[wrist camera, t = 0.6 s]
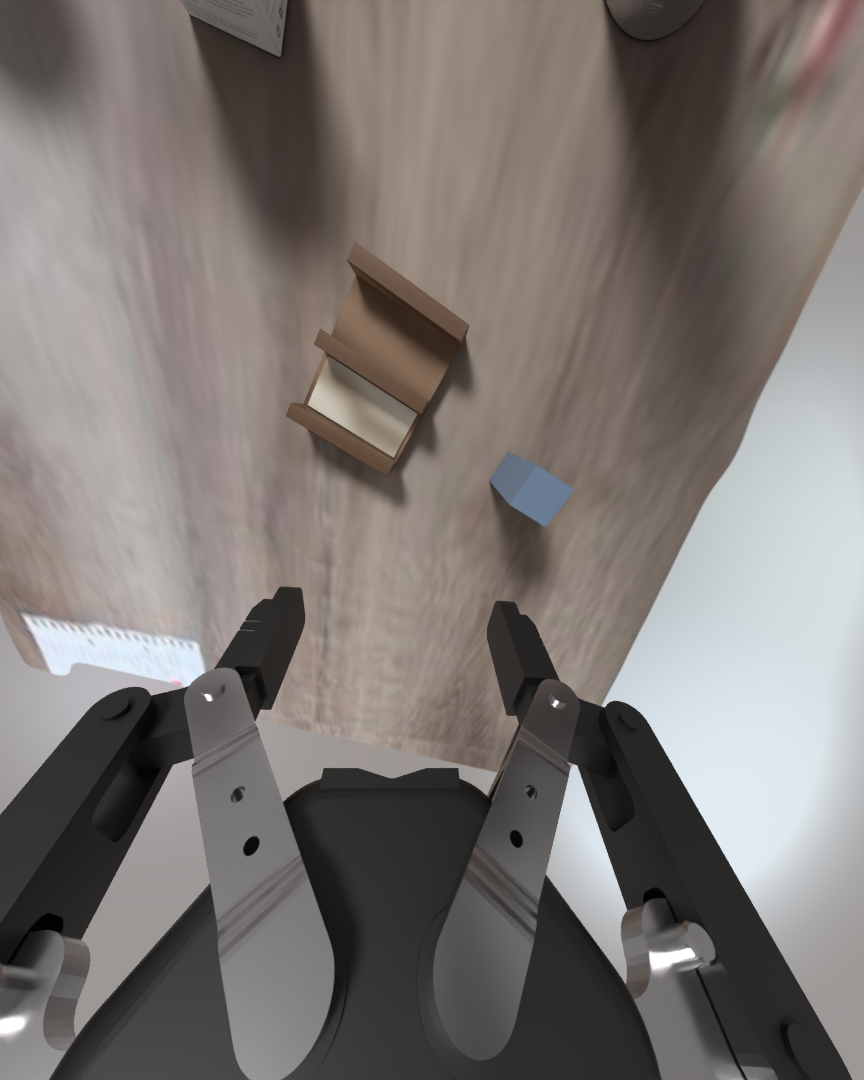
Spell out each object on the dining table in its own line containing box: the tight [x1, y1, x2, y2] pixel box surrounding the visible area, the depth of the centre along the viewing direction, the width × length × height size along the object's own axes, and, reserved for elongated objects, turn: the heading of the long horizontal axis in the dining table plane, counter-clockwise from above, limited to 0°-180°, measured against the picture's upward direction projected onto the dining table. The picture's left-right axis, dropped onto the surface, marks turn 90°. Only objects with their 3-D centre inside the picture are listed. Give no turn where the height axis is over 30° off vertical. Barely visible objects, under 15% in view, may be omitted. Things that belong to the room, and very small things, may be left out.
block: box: [489, 452, 574, 527], centre depth 32 cm, size 4×4×12 cm
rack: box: [286, 241, 469, 476], centre depth 32 cm, size 16×12×4 cm
